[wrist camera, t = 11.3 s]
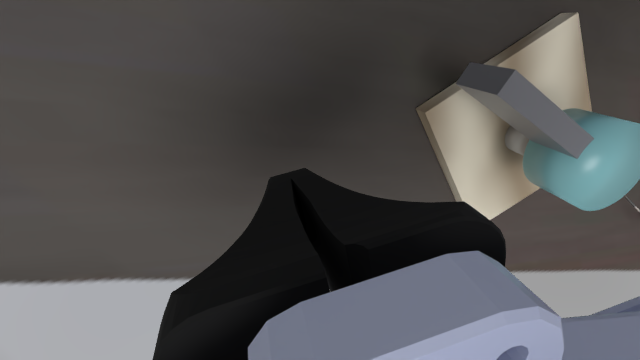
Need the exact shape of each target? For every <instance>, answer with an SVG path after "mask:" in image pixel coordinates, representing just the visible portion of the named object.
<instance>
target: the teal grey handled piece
mask: <svg viewBox="0 0 640 360" xmlns="http://www.w3.org/2000/svg"><path fill="white" fill-rule="evenodd" d="M456 85H458V86H459V87H460V88H462V89H463V90H464V91H466V92H467V93H468V94H470V95H471V96H472V97H474V98H475V99H476V100H478V101H479V102H480V103H481V104H483V105H484V106H485V107H487V108H488V109H489V110H491V111H492V112H493V113H495V114H496V115H497V116H499V117H500V118H501V119H503V120H504V121H505V122H507V123H508V124H509V125H511V126H512V127H513V128H515V129H516V130H517V131H518V132H520V133H521V134H522V135H524V136H525V137H526V138H528V139H529V142H528V144H527V146H526V149H525V152H524V156H523V171H524V174H525V176H526V178H527V179H528V180H529V181H530V182H531V183H533V184H535V185H537V186H538V187H540V188H542V189H544V190H546V191H548V192H550V193H552V194H553V195H555V196H557V197H559V198H561V199H563V200H565V201H567V202H569V203H570V204H572V205H574V206H576V207H578V208H580V209H582V210H586V211H595V210H599V209H603V208H605V207H607V206H609V205H611V204H613V203H615V202H616V201H618V200H619V199H621V198H622V197H623V196H624V195H625V194H627V193H628V192H629V191H630V190H631V189H632V188H633V186H634V185H635V184H636V183H637V182H638V180H639V179H640V124H639V123H634V122H630V121H626V120H622V119H618V118H614V117H610V116H606V115H602V114H598V113H594V112H590V111H586V110H582V109H578V108H570V109H565V110H561V109H560V108H559V107H558V106H557V105H555V104H554V103H553V102H552V101H551V100H550V99H549V98H547V97H546V96H545V95H544V94H543V93H542V92H541V91H540V90H538V89H537V88H536V87H535V86H534V85H533V84H532V83H530V82H529V81H528V80H527V79H526V78H525V77H524V76H522V75H521V74H520V73H519V72H518V71H517V70H516V69H510V68H503V67H497V66H491V65H485V64H479V63H473V62H470V63H469V65H468V66H467V67H466V69H465V70H464V72H463V73H462V75H461V76H460V78H459V79H458V81H457V82H456Z"/></svg>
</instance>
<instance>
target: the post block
mask: <svg viewBox="0 0 640 360" xmlns="http://www.w3.org/2000/svg"><path fill="white" fill-rule="evenodd" d="M484 64H485V65H491V66H497V67H503V68H510V69H516V70H517V71H518V72H519V73H520V74H521V75H522V76H524V77H525V78H526V79H527V80H528V81H529V82H530V83H532V84H533V85H534V86H535V87H536V88H537V89H538V90H540V91H541V92H542V93H543V94H544V95H545V96H546V97H547V98H549V99H550V100H551V101H552V102H553V103H554V104H555V105H557V106H558V107H559V108H560V109H561V110H565V109H570V108H578V109H582V110H586V111H590V112H592V110H591V102H590V95H589V88H588V80H587V73H586V66H585V59H584V51H583V44H582V37H581V30H580V22H579V15H578V13H560V14H559V15H557V16H556V17H554V18H553V19H551V20H550V21H548V22H547V23H545V24H544V25H542V26H540V27H539V28H537V29H536V30H534V31H533V32H531V33H530V34H528V35H527V36H525V37H524V38H522V39H521V40H519V41H518V42H516V43H515V44H513V45H512V46H510V47H509V48H507V49H505V50H504V51H502V52H501V53H499V54H498V55H496V56H495V57H493V58H492V59H490V60H489V61H487V62H486V63H484ZM416 111H417V113H418V115H419V117H420V120H421V122H422V124H423V127H424V129H425V131H426V134H427V136H428V138H429V140H430V143H431V145H432V147H433V150H434V152H435V154H436V156H437V159H438V161H439V163H440V166H441V168H442V170H443V173H444V175H445V177H446V179H447V182H448V184H449V186H450V189H451V191H452V193H453V195H454V198H455V200H456V202H462V201H464V202H466V203H467V204H469V205H470V206H472V207H473V208H474V209H476V210H477V211H478V212H480V213H481V214H482V215H484V216H485V217H486V218H488V219H489V220H491V219H492V218H494V217H496V216H497V215H499V214H500V213H502V212H503V211H505V210H507V209H508V208H510V207H511V206H513V205H514V204H516V203H518V202H519V201H521V200H522V199H524V198H525V197H527V196H528V195H530V194H532V193H533V192H535V191H536V190H538V189H539V188H540V187H538V186H537V185H535V184H533V183H531V182H530V181H529V180H528V179H527V178H526V176H525V174H524V171H523V156H524V152H525V149H526V146H527V144H528V142H529V139H528V138H526V137H525V136H524V135H522V134H521V133H520V132H518V131H517V130H516V129H515V128H513V127H512V126H511V125H509V124H508V123H507V122H505V121H504V120H503V119H501V118H500V117H499V116H497V115H496V114H495V113H493V112H492V111H491V110H489V109H488V108H487V107H485V106H484V105H483V104H481V103H480V102H479V101H478V100H476V99H475V98H474V97H472V96H471V95H470V94H468V93H467V92H466V91H464V90H463V89H462V88H460V87H459V86H458V85H456V82H455V83H454V84H452V85H451V86H449V87H448V88H446V89H445V90H443V91H442V92H440V93H439V94H437V95H435V96H434V97H432V98H431V99H429V100H428V101H426V102H425V103H423V104H422V105H420V106H419V107H417V108H416Z"/></svg>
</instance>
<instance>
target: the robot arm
mask: <svg viewBox="0 0 640 360" xmlns="http://www.w3.org/2000/svg"><path fill="white" fill-rule="evenodd" d="M505 259H506V245H505V239H504V237H503V235H502V232H501V230H500V229H499V228H498V227H497V226H496V225H495V224H494V223H493V222H492V221H490V220H489V219H488V218H486V217H485V216H484V215H482V214H481V213H480V212H478V211H477V210H476V209H474V208H473V207H472V206H470V205H469V204H467V203H466V202H464V201H462V202H435V203H425V202H406V201H396V200H389V199H383V198H377V197H373V196H369V195H365V194H361V193H358V192H354V191H351V190H349V189H346V188H344V187H341V186H339V185H336V184H334V183H332V182H330V181H328V180H326V179H324V178H322V177H320V176H318V175H316V174H315V173H313V172H311V171H309V170H308V169H306V168H303V169H299V170H295V171H292V172H288V173H285V174H281V175H277V176H274V177H270V179H269V181H268V185H267V188H266V191H265V194H264V197H263V199H262V202H261V204H260V206H259V208H258V210H257V212H256V214H255V216H254V217H253V219H252V221H251V223H250V224H249V226H248V227H247V228H246V230H245V231H244V232H243V234H242V235H241V236H240V237H239V238H238V239H237V240H236V242H235V243H234V244H233V245H232V246H231V247H230V248H229V249H228V250H227V251H226V252H225V253H224V254H223V255H222V256H221V257H220V258H219V259H217V260H216V261H215V262H214V263H213V264H211V265H210V266H209V267H208V268H207V269H205V270H204V271H203V272H201V273H200V274H199V275H197V276H196V277H194V278H193V279H191V280H190V281H189V282H187V283H186V284H184V285H183V286H181V287H180V288H178V289H177V290H175V291H173V292H172V293H171V295H170V299H169V301H168V304H167V307H166V309H165V312H164V315H163V319H162V322H161V325H160V330H159V334H158V339H157V343H156V347H155V352H154V356H153V360H640V296H639V297H637V298H634V299H632V300H629V301H626V302H624V303H621V304H618V305H616V306H613V307H611V308H608V309H605V310H603V311H600V312H597V313H595V314H592V315H589V316H580V317H570V318H561V317H560V316H559V315H558V314H556V313H555V312H554V311H553V310H552V309H551V308H550V307H548V306H547V305H546V304H545V303H544V302H543V301H542V300H541V299H540V298H538V297H537V296H536V295H535V294H534V293H533V292H532V291H531V290H530V289H528V288H527V287H526V286H525V285H524V284H523V283H522V282H521V281H519V280H518V279H517V278H516V277H515V276H514V275H513V274H512V273H510V272H509V271H508V270H507V269H506V268H505ZM329 289H330V290H329Z"/></svg>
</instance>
